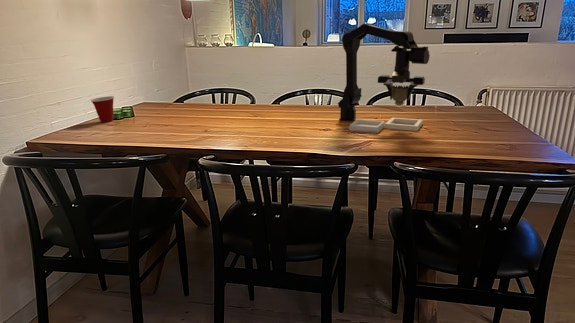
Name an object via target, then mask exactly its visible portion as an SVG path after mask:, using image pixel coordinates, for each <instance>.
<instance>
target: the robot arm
mask: <svg viewBox="0 0 575 323" xmlns="http://www.w3.org/2000/svg"><path fill="white" fill-rule="evenodd" d="M367 35H370V36H374V37H377V38H381V39H384V40H387V41H388V42H389V41H390V43H392V44H394V45H395V46H394V47H393V48H392V49H391V50H390V51H391V52H395V61H394V62H395V64H394V70H393V72H392V74H391V76H390V75H388V74H385V75H384V74H381V75H380V76H377V83H378V84H383V86H385V87H386V88H387V90H388V91H387V92H388V94H389V98H390V100H391V101H392V100H393V98H392V86H393V84H396V83H399V84H403V83H410V84H409V85H408V86H409V91H408V96H407V99H406V101H407V102H408V101H409V100H410V98H411V95H412V94H413V93H412V92H413V91H414V89H415V87H418V86H424V84H425V81H426V78H425V76H414V77H411V72H410V62H411V64H412V65H413V64H417V65H427V64H429V60H430V50H429V46H418V44H417V42H416V41H415V39H414V35H413V33H412V32H411V31H404V30H393V29H387V28H383V27H381V26H376V25H373V24H370V23H362V24H361V25H360V26H358V27H357V28H355V29H352V30H351V31H350V32H346V33H344V35H342V38H341V42H342V48H343V50H344V52H345V55H346V56H345V64H346V66H345V75H346V78H345V79H346V80H345V81H346V82H345V83H346V84H345V88H344V90H343V94H342V98H341V99H340V100H339V102H338V103H337V105H338V108H340V114H339V116H340V118H339V119H338V120H339V121H350V122H353V121H354V120H355V119H356V120H357V110H356V106H357V105H358V103H359V102H360V101H361V98H362V88H361V87H360V88H359V86H358V67H357V66H358V58H357V57H358V51H359V48H360V47H361V46H360V45H361V41H362V40H363V39H365V38H366V36H367Z"/></svg>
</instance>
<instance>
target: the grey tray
mask: <svg viewBox="0 0 575 323" xmlns="http://www.w3.org/2000/svg"><path fill="white" fill-rule="evenodd" d="M385 123H386V121H385V120H373V119H359V118H358V119H356V120H355V121H354V122H353V121H352V123H351V124H349V128H348V129H349V131H350V132H360V133H372V134H379V132H381V131H382V130H383V129H385Z"/></svg>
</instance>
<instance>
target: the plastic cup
mask: <svg viewBox="0 0 575 323" xmlns="http://www.w3.org/2000/svg"><path fill="white" fill-rule="evenodd" d="M114 98H115V97H114V96H112V95H111V96H109V95H108V96H102V97H96V98H93V99H90V101H91V103H92V104H93V106H94V109H95V110H96V114H97V116H98V119H99V121H100V123H102V124H103V123H111V122H113V121H114Z"/></svg>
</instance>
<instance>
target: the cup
mask: <svg viewBox="0 0 575 323" xmlns="http://www.w3.org/2000/svg"><path fill="white" fill-rule="evenodd" d="M408 91H409V85H393V86H392V100H393V101H394V104H395V105H396V106H403V105H404V104H405V103H404V102H405V101H407V96H408Z"/></svg>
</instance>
